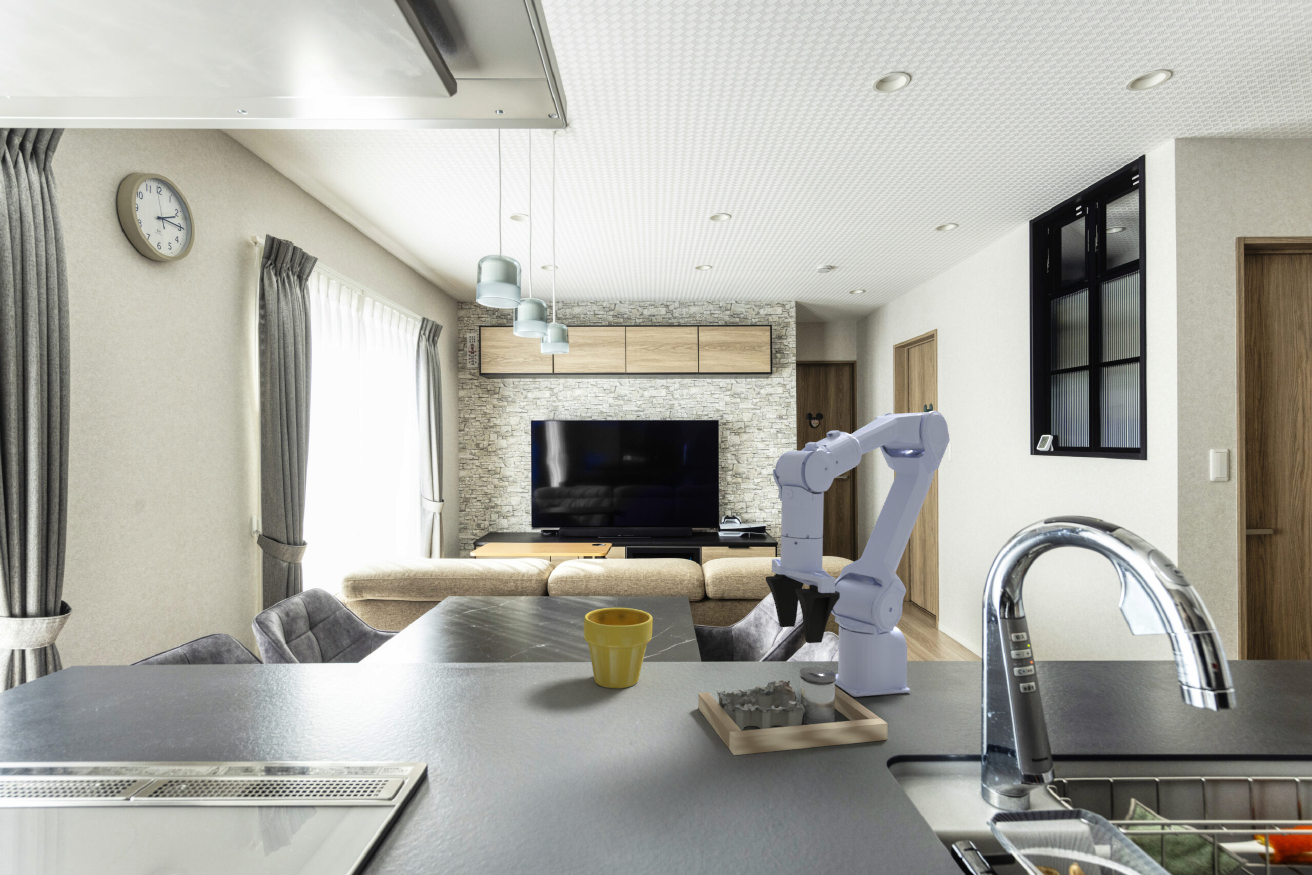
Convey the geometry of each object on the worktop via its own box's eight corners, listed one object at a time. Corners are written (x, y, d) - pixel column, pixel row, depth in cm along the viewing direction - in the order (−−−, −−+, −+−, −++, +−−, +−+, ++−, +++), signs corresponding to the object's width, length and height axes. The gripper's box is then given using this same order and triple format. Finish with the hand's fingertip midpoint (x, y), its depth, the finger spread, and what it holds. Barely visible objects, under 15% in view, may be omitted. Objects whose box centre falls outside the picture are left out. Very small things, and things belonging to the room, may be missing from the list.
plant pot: (650, 695, 89) (651, 626, 90) (577, 692, 90) (579, 624, 90) (652, 669, 100) (653, 608, 100) (587, 667, 100) (588, 606, 100)
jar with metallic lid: (828, 712, 85) (829, 667, 85) (840, 727, 80) (840, 679, 80) (794, 712, 84) (795, 666, 85) (804, 727, 80) (805, 679, 80)
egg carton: (792, 709, 86) (793, 679, 86) (807, 733, 79) (807, 700, 79) (715, 707, 86) (716, 677, 86) (722, 732, 78) (723, 699, 79)
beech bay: (831, 697, 90) (831, 683, 90) (887, 739, 77) (887, 723, 77) (698, 707, 85) (698, 693, 85) (733, 755, 72) (734, 737, 72)
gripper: (753, 529, 94) (751, 621, 93) (801, 544, 80) (799, 651, 79) (796, 529, 96) (794, 619, 95) (850, 543, 82) (848, 648, 81)
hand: (799, 633), depth 87 cm, fingers open, 7 cm apart
